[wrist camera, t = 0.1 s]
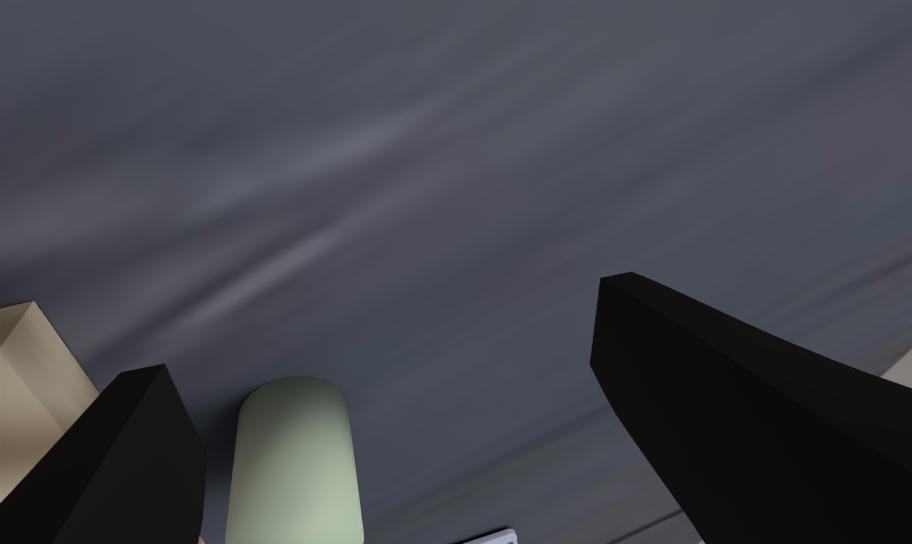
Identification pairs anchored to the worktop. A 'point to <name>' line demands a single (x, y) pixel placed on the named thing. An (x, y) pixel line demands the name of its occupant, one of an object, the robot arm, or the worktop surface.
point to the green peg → (294, 467)
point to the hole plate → (35, 391)
